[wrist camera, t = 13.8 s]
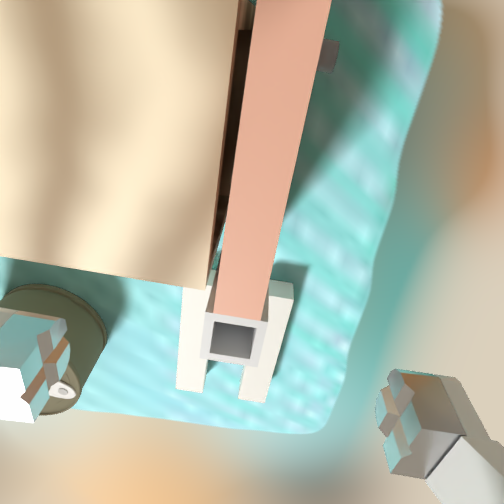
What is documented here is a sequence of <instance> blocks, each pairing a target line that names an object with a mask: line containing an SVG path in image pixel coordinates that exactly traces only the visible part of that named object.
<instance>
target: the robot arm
mask: <svg viewBox="0 0 504 504" xmlns="http://www.w3.org/2000/svg"><path fill="white" fill-rule="evenodd" d="M66 331H67V326H66V321H65V319H62V318H59V317H53V316H48V315H42V314H36V313H31V312H25V311H18V310H12V309H6V308H1V307H0V419H4V420H13V421H21V422H30V423H34V422H35V420H36V418H37V417H38V415H39V414H40V412H41V410H42V409H43V407H44V406H45V404H46V402H47V401H48V399H49V391H48V388H49V387H51V386H52V385H54V384H55V383H57V382H59V381H60V379H61V378H62V376H63V374H64V372H65V371H66V368H67V365H68V362H69V358H70V344H69V342H68V341H67V340H66V339H65V338H64V337H63V335H64V334H65V332H66ZM387 380H388V382H389V386H387V387H385V388H383V389H381V390H380V392H379V394H378V397H377V399H376V407H375V413H376V420H377V424H378V428H379V429H380V430H381V431H382V433H384V435H385V436H386V437H387V438H386V440H385V442H384V444H383V447H384V451H385V455H386V459H387V463H388V466H389V470H390V473H391V474H397V475H403V476H409V477H414V478H420V479H426V481H425V482H426V483H427V485H428V486H429V487H430V489H431V490H432V491H433V493H434V494H435V495H436V497H437V498H438V499H439V501H440V502H441V503H442V504H504V447H503V446H502V445H501V444H500V443H499V442H497V441H493V440H491V439H490V437H489V436H488V434H487V432H486V430H485V428H484V426H483V424H482V422H481V420H480V419H479V417H478V415H477V413H476V411H475V409H474V407H473V405H472V404H471V402H470V400H469V398H468V396H467V394H466V392H465V390H464V388H463V387H462V385H461V383H460V381H458V380H457V379H456V378H455V377H449V376H442V375H433V374H429V373H422V372H415V371H408V370H400V369H394V370H392V371H391V372H390V374H389V376H388V378H387Z"/></svg>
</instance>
